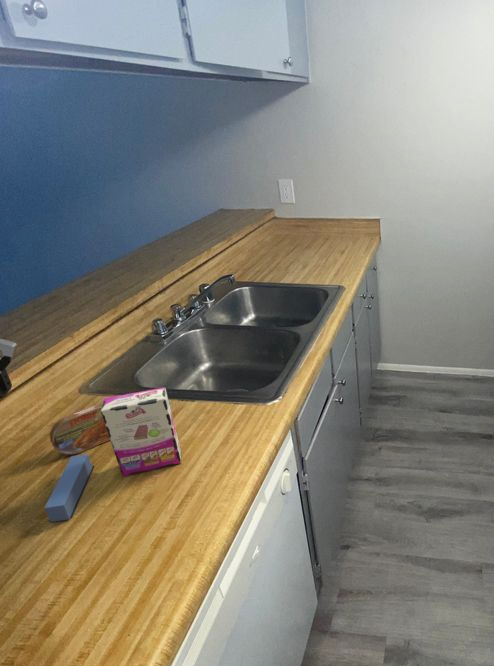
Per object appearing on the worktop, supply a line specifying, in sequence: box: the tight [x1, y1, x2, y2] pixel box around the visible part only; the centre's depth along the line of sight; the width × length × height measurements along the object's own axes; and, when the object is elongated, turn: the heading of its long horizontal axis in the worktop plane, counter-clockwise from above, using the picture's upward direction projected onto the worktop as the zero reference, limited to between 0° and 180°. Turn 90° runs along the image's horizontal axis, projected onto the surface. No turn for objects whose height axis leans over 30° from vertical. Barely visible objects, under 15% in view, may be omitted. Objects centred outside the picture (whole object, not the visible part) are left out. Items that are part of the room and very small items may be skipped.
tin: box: [49, 402, 111, 456], centre depth 102 cm, size 15×3×8 cm, turn 137°
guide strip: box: [48, 465, 95, 522], centre depth 91 cm, size 4×14×1 cm, turn 15°
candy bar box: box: [101, 386, 182, 477], centre depth 95 cm, size 11×5×16 cm, turn 114°
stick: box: [44, 453, 93, 523], centre depth 90 cm, size 3×14×4 cm, turn 16°
